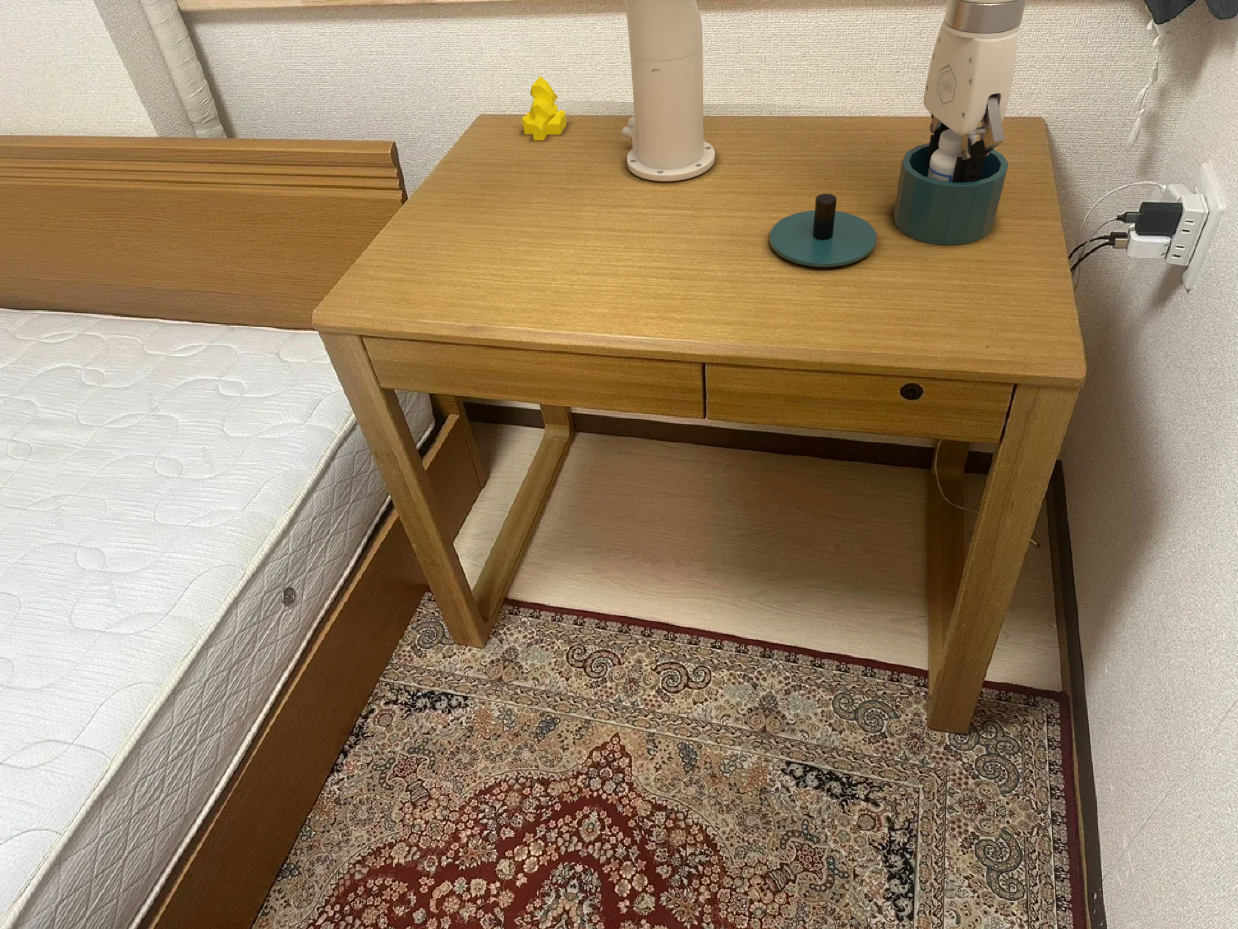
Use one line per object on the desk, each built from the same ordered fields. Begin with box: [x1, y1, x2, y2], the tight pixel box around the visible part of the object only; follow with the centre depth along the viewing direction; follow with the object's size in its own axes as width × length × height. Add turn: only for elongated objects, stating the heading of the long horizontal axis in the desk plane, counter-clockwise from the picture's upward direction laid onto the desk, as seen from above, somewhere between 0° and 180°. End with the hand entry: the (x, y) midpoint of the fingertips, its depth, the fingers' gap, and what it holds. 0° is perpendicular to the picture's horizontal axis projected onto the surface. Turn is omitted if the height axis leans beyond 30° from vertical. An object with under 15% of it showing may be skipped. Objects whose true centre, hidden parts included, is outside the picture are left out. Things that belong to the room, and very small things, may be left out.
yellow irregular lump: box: [521, 75, 567, 141], centre depth 132 cm, size 6×8×8 cm
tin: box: [893, 142, 1009, 246], centre depth 102 cm, size 12×12×8 cm
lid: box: [769, 193, 878, 268], centre depth 101 cm, size 13×13×6 cm
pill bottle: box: [928, 129, 978, 182], centre depth 101 cm, size 6×5×10 cm
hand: (951, 175), depth 101 cm, fingers closed on pill bottle, 5 cm apart
